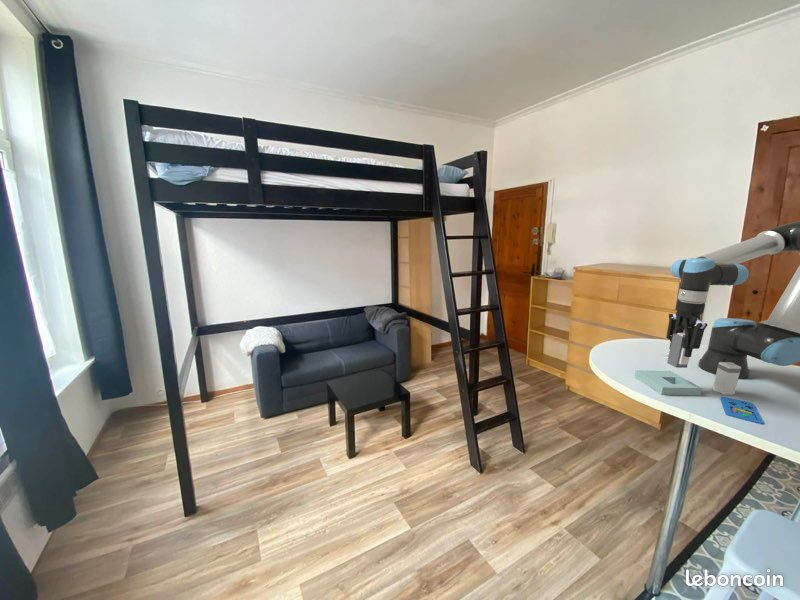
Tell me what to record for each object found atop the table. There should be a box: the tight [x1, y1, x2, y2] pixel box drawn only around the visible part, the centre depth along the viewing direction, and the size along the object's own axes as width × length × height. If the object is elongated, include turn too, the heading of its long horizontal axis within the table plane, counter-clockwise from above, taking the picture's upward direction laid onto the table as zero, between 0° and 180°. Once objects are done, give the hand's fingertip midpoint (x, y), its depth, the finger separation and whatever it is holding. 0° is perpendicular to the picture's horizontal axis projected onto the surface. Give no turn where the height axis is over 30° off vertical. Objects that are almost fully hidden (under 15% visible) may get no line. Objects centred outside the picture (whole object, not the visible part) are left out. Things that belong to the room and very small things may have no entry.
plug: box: [666, 332, 688, 369], centre depth 115 cm, size 4×4×13 cm
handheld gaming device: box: [719, 396, 764, 425], centre depth 104 cm, size 8×1×15 cm
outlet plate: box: [634, 369, 703, 396], centre depth 119 cm, size 14×14×3 cm
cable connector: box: [712, 362, 741, 395], centre depth 114 cm, size 4×4×12 cm
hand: (677, 361), depth 116 cm, fingers closed on plug, 4 cm apart
